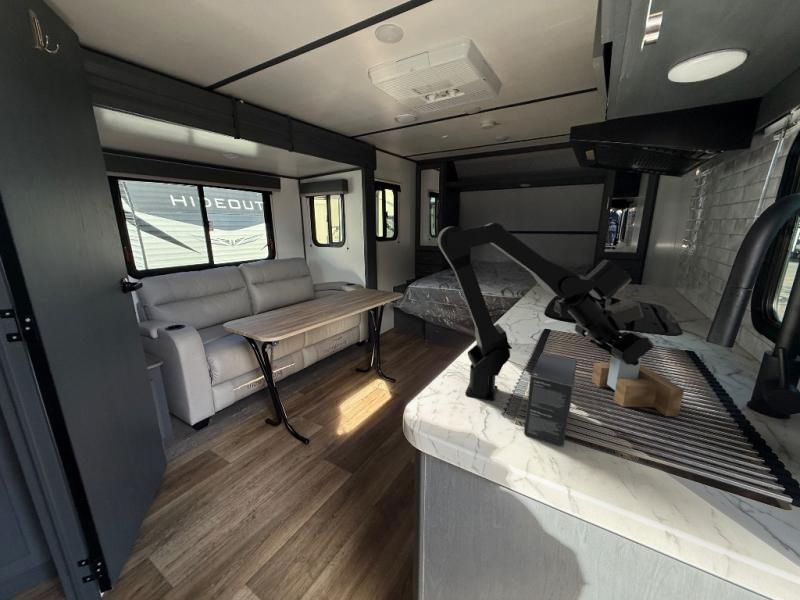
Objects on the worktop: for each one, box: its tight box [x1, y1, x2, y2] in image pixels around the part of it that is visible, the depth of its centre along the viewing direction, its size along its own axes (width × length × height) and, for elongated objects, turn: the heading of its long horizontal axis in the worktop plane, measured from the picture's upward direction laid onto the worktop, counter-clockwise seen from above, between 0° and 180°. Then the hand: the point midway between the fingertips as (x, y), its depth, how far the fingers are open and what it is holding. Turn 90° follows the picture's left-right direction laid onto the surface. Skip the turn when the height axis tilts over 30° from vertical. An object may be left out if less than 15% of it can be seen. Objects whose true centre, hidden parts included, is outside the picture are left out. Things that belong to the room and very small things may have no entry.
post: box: [607, 355, 642, 391], centre depth 71 cm, size 4×3×12 cm, turn 89°
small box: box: [523, 352, 578, 447], centre depth 60 cm, size 13×7×12 cm, turn 148°
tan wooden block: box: [591, 362, 685, 417], centre depth 72 cm, size 9×18×6 cm, turn 179°
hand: (631, 361), depth 70 cm, fingers closed on post, 3 cm apart
